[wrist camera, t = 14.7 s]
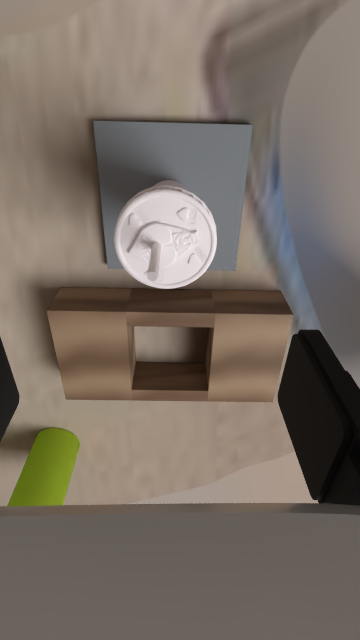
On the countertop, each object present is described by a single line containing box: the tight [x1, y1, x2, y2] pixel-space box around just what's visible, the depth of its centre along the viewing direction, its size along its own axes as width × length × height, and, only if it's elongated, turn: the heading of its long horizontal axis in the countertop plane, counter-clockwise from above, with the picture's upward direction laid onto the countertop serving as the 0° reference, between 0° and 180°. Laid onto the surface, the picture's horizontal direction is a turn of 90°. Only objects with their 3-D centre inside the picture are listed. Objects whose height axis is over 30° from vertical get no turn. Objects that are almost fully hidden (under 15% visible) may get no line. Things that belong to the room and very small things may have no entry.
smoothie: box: [114, 180, 217, 289], centre depth 23 cm, size 6×6×14 cm
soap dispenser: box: [8, 428, 80, 506], centre depth 39 cm, size 6×7×20 cm
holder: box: [47, 287, 293, 402], centre depth 36 cm, size 11×22×4 cm, turn 89°
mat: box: [93, 120, 253, 271], centre depth 30 cm, size 12×12×1 cm
